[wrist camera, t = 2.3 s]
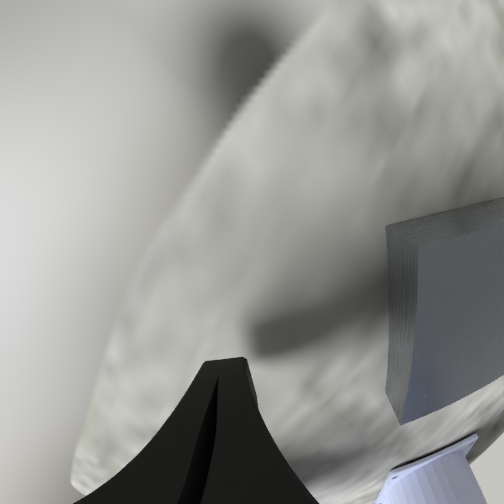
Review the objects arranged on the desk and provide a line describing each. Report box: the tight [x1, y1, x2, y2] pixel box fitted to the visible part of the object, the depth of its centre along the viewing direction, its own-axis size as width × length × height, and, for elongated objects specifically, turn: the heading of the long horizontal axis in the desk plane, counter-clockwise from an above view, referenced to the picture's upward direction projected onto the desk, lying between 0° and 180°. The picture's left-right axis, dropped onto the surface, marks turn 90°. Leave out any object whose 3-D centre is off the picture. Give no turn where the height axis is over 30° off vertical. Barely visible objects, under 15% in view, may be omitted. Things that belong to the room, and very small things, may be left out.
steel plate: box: [386, 198, 504, 425], centre depth 9 cm, size 8×6×2 cm
